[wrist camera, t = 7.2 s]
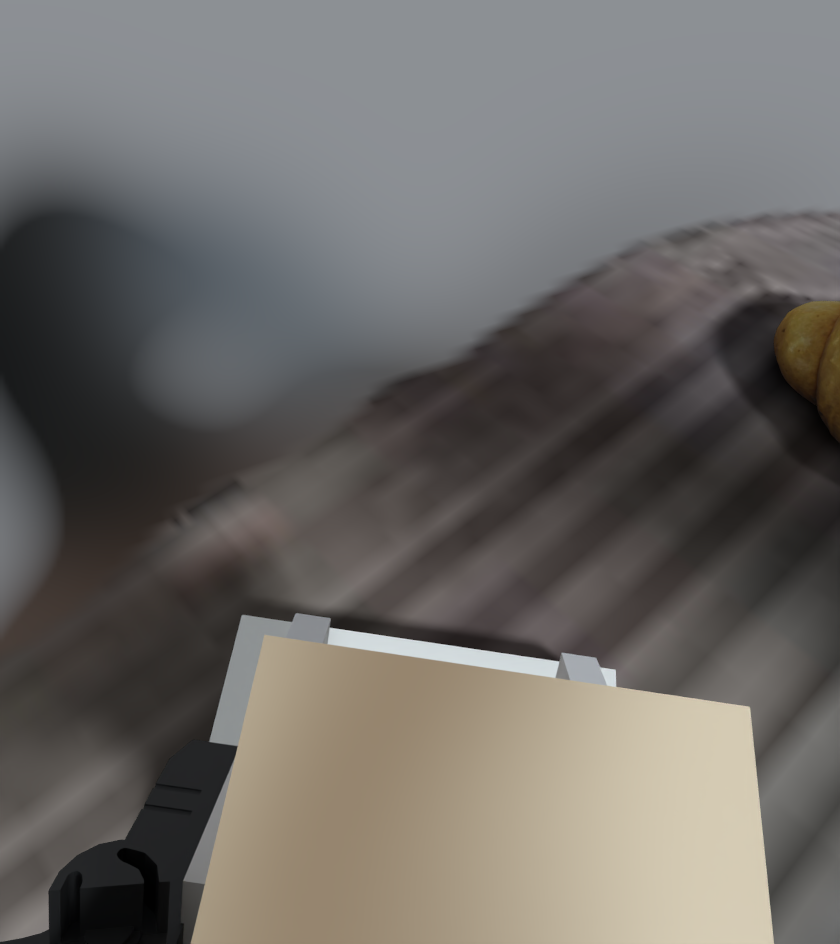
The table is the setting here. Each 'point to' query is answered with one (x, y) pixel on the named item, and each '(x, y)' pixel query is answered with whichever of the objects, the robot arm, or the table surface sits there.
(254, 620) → the stone tile base
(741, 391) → the table surface
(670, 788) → the beech block
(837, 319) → the bread roll
